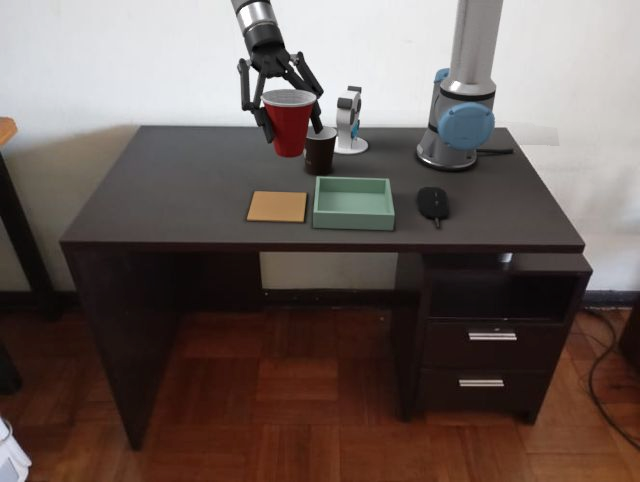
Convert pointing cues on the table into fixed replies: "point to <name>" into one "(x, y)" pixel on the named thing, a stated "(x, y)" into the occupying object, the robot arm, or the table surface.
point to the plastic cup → (289, 119)
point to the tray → (353, 203)
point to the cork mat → (277, 207)
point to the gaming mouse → (433, 203)
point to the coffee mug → (319, 150)
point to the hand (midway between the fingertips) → (296, 136)
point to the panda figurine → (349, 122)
